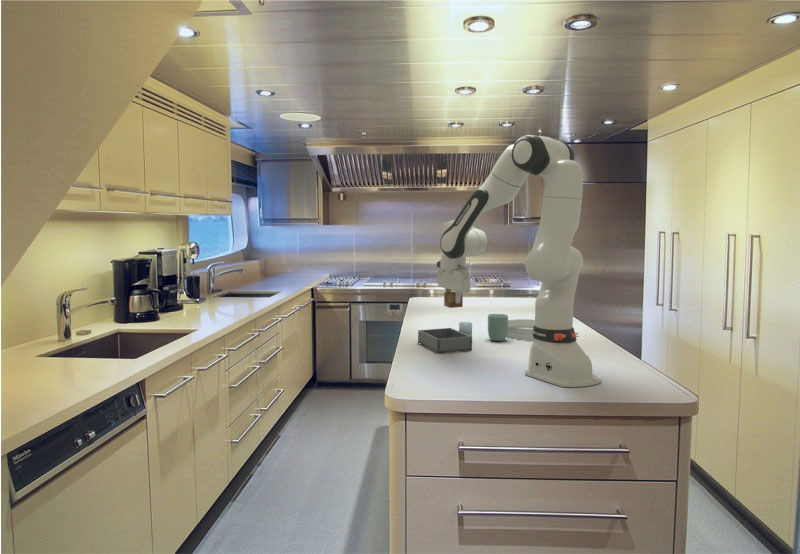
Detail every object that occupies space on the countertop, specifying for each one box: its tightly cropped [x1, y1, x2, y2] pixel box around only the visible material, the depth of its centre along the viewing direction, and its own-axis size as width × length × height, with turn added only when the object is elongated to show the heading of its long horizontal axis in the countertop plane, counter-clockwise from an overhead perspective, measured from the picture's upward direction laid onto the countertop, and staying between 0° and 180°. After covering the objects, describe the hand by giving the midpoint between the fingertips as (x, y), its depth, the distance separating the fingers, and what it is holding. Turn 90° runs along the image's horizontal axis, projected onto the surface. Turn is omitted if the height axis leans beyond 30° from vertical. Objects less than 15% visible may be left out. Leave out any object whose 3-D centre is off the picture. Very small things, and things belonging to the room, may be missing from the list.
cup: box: [487, 313, 509, 342], centre depth 205 cm, size 8×8×10 cm
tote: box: [417, 327, 473, 354], centre depth 195 cm, size 18×14×5 cm
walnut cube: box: [443, 291, 464, 309], centre depth 192 cm, size 5×5×5 cm
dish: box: [506, 318, 535, 342], centre depth 215 cm, size 22×22×5 cm
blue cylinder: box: [458, 321, 473, 337], centre depth 205 cm, size 5×5×7 cm
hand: (453, 301), depth 193 cm, fingers closed on walnut cube, 5 cm apart
